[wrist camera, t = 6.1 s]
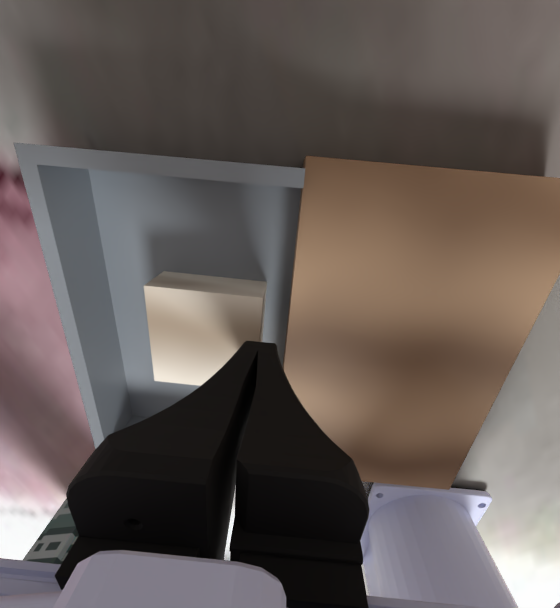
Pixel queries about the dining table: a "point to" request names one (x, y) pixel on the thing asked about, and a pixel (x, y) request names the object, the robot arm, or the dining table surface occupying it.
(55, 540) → the can
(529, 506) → the dining table surface
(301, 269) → the wooden board
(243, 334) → the wooden tile
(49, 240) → the box
